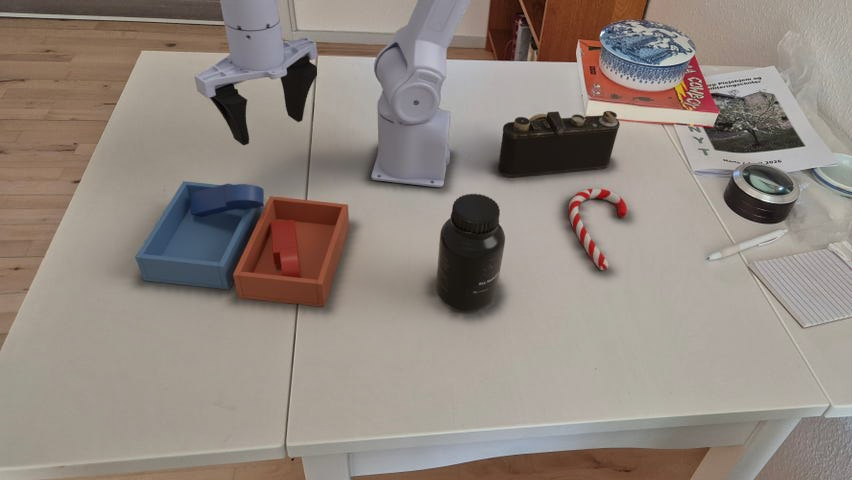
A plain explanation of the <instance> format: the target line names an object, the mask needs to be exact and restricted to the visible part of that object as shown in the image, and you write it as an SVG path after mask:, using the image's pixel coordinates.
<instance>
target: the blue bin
mask: <svg viewBox="0 0 852 480" xmlns="http://www.w3.org/2000/svg"><path fill="white" fill-rule="evenodd" d="M221 185H222V184H215V183H205V182H195V181H186V180H183V181H182V183H181V184H180V185H179V187H178V188H177V190H176V192H175V194H174V195H173V196H172V198H171V200H170V201H169V202H168V204H167V206H166V208H165V209H164V211H163V212H162V214H161V215H160V217H159V219H158V220H157V222H156V224H155V225H154V226H153V228H152V229H151V231H150V233H149V234H148V236H147V237H146V239H145V240H144V242H143V243H142V245H141V246H140V248H139V250H138V251H137V253H136V255H135V256H134V258H135V261H136V263H137V266H138V269H139V272H140V274H141V278H142V279H143V281H144V282H154V283H155V282H156V283H166V284H175V285H183V286H194V287H203V288H212V289H219V290H220V289H222V290H230V289H231V287H232V285H233V282H234V276H233V274H234V272H235V270H236V267H237V265H238V263H239V261H240V259H241V257H242V255H243V252H244V250H245V248H246V246H247V244H248V242H249V240H250V237H251V235H252V233H253V231H254V229H255V227H256V225H257V222H258V220H259V218H260V216H261V214H262V212H263V210H264V207H265V205H264V203H263V206H262V207H259V208H253V209H241V208H238V209H234V210H229V211H225V212H221V213H216V214H212V215H208V216H203V217H201V216H196V215H191V193H194V192H197V191H201V190H205V189H209V188H213V187H217V186H221Z"/></svg>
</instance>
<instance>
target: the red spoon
mask: <svg viewBox="0 0 852 480" xmlns="http://www.w3.org/2000/svg"><path fill="white" fill-rule="evenodd" d="M271 232H272V249H273V258H274V264H281V270H282V276H287V277H296V278H301V274H300V266H299V258H298V249H297V239H296V230H295V223H294V220H285V221H275V222H271Z"/></svg>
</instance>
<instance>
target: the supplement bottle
mask: <svg viewBox="0 0 852 480" xmlns="http://www.w3.org/2000/svg"><path fill="white" fill-rule="evenodd" d="M500 211H501V210H500V206H499V205H498V202H496V201H495V200H494V199H493V198H491V197H489V196H487V195H485V194H481V193H467V194H463V195H461V196H458V198H456V199H455V200H454V201H453V204H452V208H451V213H450V217H449V218H448V219H447V220H446V221H445V222H444V224H442V227H441V229H440V233H439V242H438V255H437V256H438V258H437V268H436V281H435V289H436V292H437V296H438V297H439V299H440V300H441V301H442V302H443V303H444V304H445V305H447V306H448V307H450V308H452V309H454V310H457V311H462V312H475V311H479V310H481V309H484V308H486V307H488V306H489V305H490V304H491V303H492V302H493V301H494V299H495V298H496V295H497V290H498V286H499V280H500V273H501V268H502V262H503V257H504V250H505V244H506V235H505V232H504V229H503V227H502V226H501V225H500V214H501V213H500Z"/></svg>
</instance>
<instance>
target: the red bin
mask: <svg viewBox="0 0 852 480" xmlns="http://www.w3.org/2000/svg"><path fill="white" fill-rule="evenodd" d="M285 220H294V223H295V230H296V239H297V249H298V258H299V266H300V274H301V278H296V277H287V276H282V270H281V264H274V258H273V249H272V232H271V222H275V221H285ZM349 230H350V215H349V204H346V203H337V202H328V201H319V200H311V199H303V198H302V199H301V198H292V197H283V196H274V195H270V196H269V197H268V199H267V201H266V204H265V205H264V210H263V212H262V214H261V216H260V218H259V220H258V222H257V225H256V227H255V229H254V231H253V233H252V235H251V237H250V240H249V242H248V244H247V246H246V248H245V250H244V252H243V255H242V257H241V259H240V261H239V263H238V265H237V267H236V270H235V272H234V274H233V276H234V280H233V282H234V285H235V288H236V289H235V290H236V293H237V297H238V298H239V299H249V300H256V301H257V300H258V301H266V302H267V301H268V302H277V303H286V304H293V305H294V304H296V305H304V306H314V307H321V308H324V307H325V306H326V304H327V300H328V297H329V294H330V290H331V287H332V283H333V282H334V278H335V274H336V271H337V268H338V266H339V262H340V258H341V255H342V253H343V252H342V251H343V249H344V246H345V243H346V239H347V236H348V233H349Z"/></svg>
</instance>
